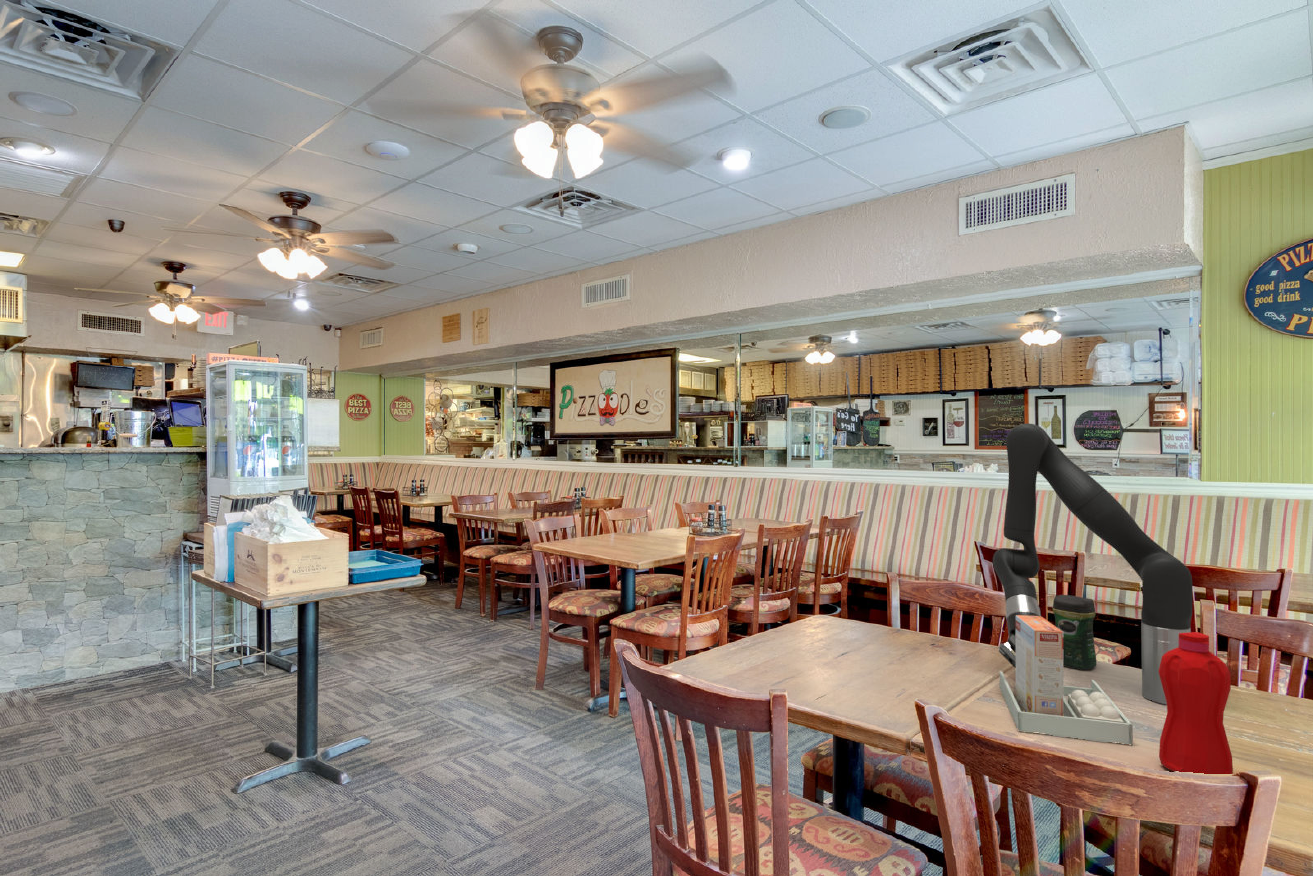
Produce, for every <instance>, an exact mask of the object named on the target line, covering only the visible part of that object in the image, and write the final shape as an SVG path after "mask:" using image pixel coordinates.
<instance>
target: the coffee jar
mask: <svg viewBox="0 0 1313 876" xmlns="http://www.w3.org/2000/svg"><path fill="white" fill-rule="evenodd" d="M1052 612H1053V615H1054V621H1055V627H1057V628H1058V629H1060V630H1061V631H1063V667H1066V666H1067V668H1070V667H1071V669H1075V668H1076V669H1077V670H1090V671H1091V670H1093V669H1095V668H1096V666H1097V653H1096V646H1095V639H1094V631H1093V630H1094V629H1093V627H1094V626H1093V625H1094V618H1095V617H1096V607H1095V603H1094V600H1093V599H1092V598H1087V597H1082V596H1081V597H1080V596H1078V595H1077V596H1076V595H1069V594H1059V595H1056V596H1054V598H1053V605H1052ZM1076 669H1075V670H1076Z"/></svg>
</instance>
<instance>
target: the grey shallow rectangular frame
mask: <svg viewBox="0 0 1313 876" xmlns="http://www.w3.org/2000/svg"><path fill="white" fill-rule="evenodd" d="M998 672H999V674H998V676H999V677H998V678H999V689H1000V692H1001V695H1002V697H1003V698H1004V702H1005V704H1006V706H1007V708H1008V711H1009V710H1010V711H1009V713H1010V715H1011V717H1012V720H1013V719H1014V720H1013V722H1014V724H1015V723H1016V725H1015V726H1017V727H1016V729H1017V728H1018V729H1017V731H1018V730H1019V731H1025V732H1039V733H1045V734H1050V735H1053V736H1052V737H1059V738H1066V737H1071V738H1070V739H1074V738H1078V739H1077V740H1083V739H1085V741H1091V742H1100V743H1107V742H1117V743H1118V742H1119V743H1124V744H1131V745H1130V746H1132V745H1133V743H1134V742H1133V738H1134V737H1133V736H1134V735H1133V724H1132V723H1131V722H1130V721H1129V719H1128V718H1127V716H1125V715H1124V713H1123V712H1122V711H1121V710H1120V709H1119V708H1118V706H1117V705H1116V704H1115V703H1114V702H1113V700H1112V699H1111V698H1110V697H1109V696H1108V694H1107V693H1106V692H1105V691H1104V690H1103V689H1102V688H1101V686H1100V685H1099V684H1098V683H1097V682H1096V681H1095V680H1094V679H1090V687H1082V686H1081V687H1080V686H1072V685H1071V686H1070V685H1063V714H1064V715H1063V716H1057V715H1048V714H1039V713H1030V712H1022V711H1021V710H1020V708H1019V706H1018V704H1017V702H1016V696H1014V695H1015V694H1014V693H1013V691H1012V688H1011V687H1010V685H1009V682H1008V680H1007V678H1006V676H1005V674H1004V672H1003V671H1002V670H999V671H998ZM1075 690H1082V691H1084V692H1086V693H1087V695H1088V696H1090V694H1091V693H1093V692H1101V693H1103V694H1104V695H1105V696H1106V698H1107V700H1108V701H1110V702H1111V704H1112V705H1113V708H1115V709H1116V710H1117V711H1118V713H1119V715H1120V718H1121V719H1122V720H1123V722H1124V723H1119V722H1110V721H1102V720H1093V719H1084V718H1078V717H1077V716H1076V715H1075V713H1074V712H1073V710H1072V709H1071V707H1070V706H1069V704H1068V700H1066V698H1065V697H1064V696H1068V694H1072V692H1073V691H1075ZM1019 731H1018V732H1019ZM1025 732H1024V733H1025ZM1050 735H1049V736H1050ZM1124 744H1123V745H1124Z"/></svg>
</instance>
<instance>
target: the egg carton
mask: <svg viewBox="0 0 1313 876" xmlns="http://www.w3.org/2000/svg"><path fill="white" fill-rule="evenodd" d="M1067 703H1068V704H1069V706H1070V707H1071V709H1072V710H1073V712H1074V713H1075V715H1076V716H1077V717H1078V718H1084V719H1093V720H1102V721H1110V722H1119V723H1124V722H1123V720H1122V719H1121V718H1120V715H1119V713H1118V711H1117V710H1116V709H1115V708H1113V705H1112V704H1111V702H1110V701H1108V700H1107V698H1106V696H1105V695H1104V694H1103V693H1101V692H1093V693H1091V694H1090V696H1088V695H1087V693H1086V692H1084V691H1082V690H1075V691H1073V692H1072V694H1068V695H1067Z"/></svg>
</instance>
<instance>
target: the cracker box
mask: <svg viewBox="0 0 1313 876" xmlns="http://www.w3.org/2000/svg"><path fill="white" fill-rule="evenodd" d="M1015 655H1016V668H1015V699H1016V702H1017V704H1018V706H1019V708H1020V710H1021V711H1022V712H1030V713H1039V714H1048V715H1057V716H1064V715H1063V697H1064V695H1063V686H1064V666H1063V631H1061V630H1060V629H1058V628H1057V627H1056V625H1055V624H1053V623H1052V622H1050V621H1048V620H1047V619H1046V618H1044V617H1043V616H1041V617H1040V616H1024V615H1016V653H1015Z"/></svg>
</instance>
